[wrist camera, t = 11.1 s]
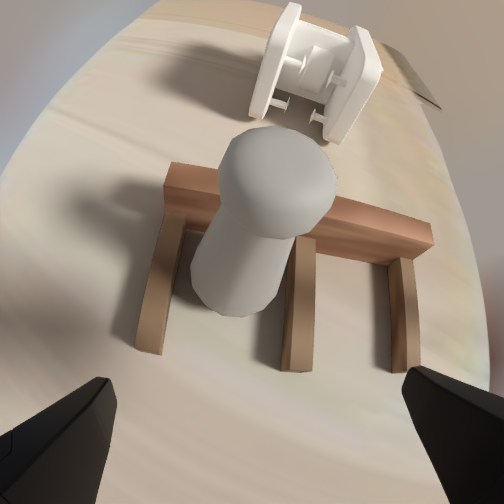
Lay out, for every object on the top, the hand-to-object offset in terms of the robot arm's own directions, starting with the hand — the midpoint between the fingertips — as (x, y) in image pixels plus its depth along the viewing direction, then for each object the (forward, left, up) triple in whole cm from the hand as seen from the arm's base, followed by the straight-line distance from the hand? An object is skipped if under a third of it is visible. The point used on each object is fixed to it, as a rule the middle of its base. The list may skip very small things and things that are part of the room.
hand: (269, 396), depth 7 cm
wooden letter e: (+9, -1, -12) cm, 14 cm away
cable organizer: (+30, +10, -12) cm, 33 cm away
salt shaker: (+6, +4, -12) cm, 14 cm away
